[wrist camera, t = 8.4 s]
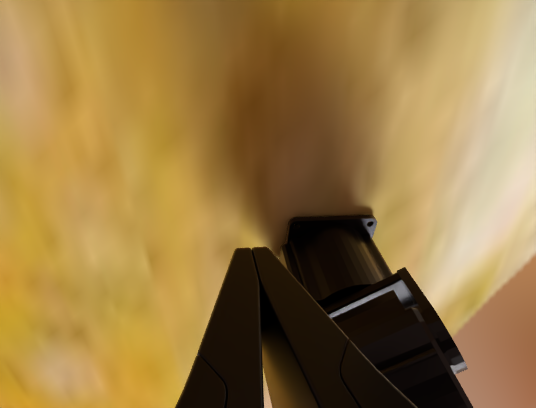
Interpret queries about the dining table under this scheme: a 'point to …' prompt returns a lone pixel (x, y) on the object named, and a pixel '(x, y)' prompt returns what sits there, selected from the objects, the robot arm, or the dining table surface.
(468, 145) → the dining table surface
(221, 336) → the robot arm
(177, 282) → the dining table surface
